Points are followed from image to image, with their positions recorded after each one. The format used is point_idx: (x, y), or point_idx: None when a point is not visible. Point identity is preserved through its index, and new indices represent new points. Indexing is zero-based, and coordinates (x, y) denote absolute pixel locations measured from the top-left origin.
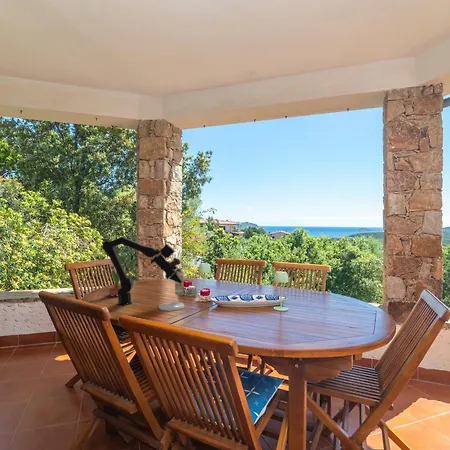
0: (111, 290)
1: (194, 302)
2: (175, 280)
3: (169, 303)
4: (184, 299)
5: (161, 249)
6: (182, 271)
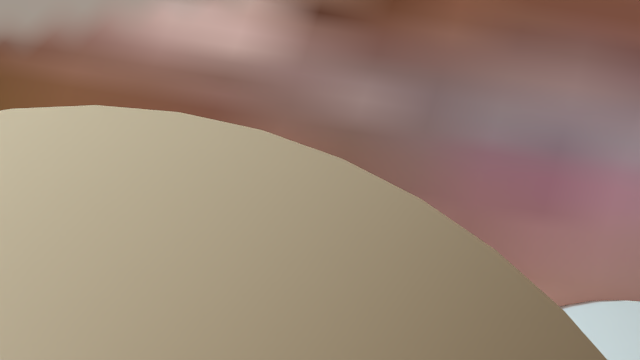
0: None
1: (379, 87)
2: None
3: None
4: None
5: None
6: (558, 316)
